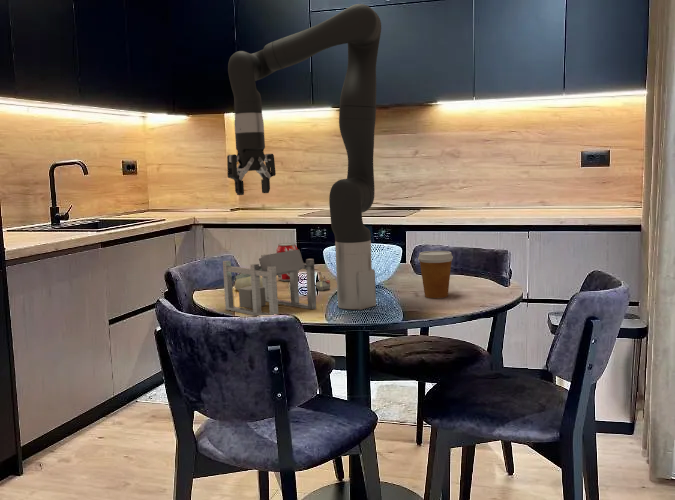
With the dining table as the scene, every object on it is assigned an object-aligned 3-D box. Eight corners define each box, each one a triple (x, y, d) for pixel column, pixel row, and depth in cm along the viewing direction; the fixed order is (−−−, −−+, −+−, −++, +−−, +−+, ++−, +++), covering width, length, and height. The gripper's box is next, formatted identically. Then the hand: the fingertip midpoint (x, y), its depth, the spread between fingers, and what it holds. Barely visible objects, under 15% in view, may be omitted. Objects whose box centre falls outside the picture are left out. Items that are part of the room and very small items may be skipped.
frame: (316, 308, 176) (314, 259, 175) (274, 319, 166) (271, 266, 164) (267, 300, 190) (265, 254, 188) (225, 309, 179) (222, 261, 178)
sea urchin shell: (268, 280, 212) (263, 265, 206) (265, 301, 207) (260, 286, 201) (239, 280, 213) (233, 265, 207) (236, 301, 208) (230, 287, 202)
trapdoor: (304, 267, 174) (299, 249, 175) (273, 273, 167) (268, 254, 168) (269, 282, 185) (264, 265, 186) (238, 288, 178) (233, 270, 178)
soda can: (303, 278, 223) (301, 242, 221) (291, 282, 217) (289, 245, 215) (285, 277, 226) (284, 242, 225) (273, 281, 220) (271, 244, 219)
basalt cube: (264, 287, 182) (253, 285, 186) (250, 290, 179) (238, 288, 182) (265, 305, 183) (254, 303, 187) (251, 309, 180) (239, 306, 183)
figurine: (317, 287, 205) (316, 268, 204) (331, 287, 205) (331, 268, 203) (314, 293, 200) (313, 274, 199) (328, 293, 200) (328, 274, 198)
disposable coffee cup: (440, 301, 179) (439, 256, 178) (411, 297, 186) (410, 253, 184) (460, 295, 186) (460, 251, 184) (432, 291, 192) (431, 249, 191)
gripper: (236, 130, 168) (240, 195, 170) (279, 130, 179) (283, 192, 181) (218, 132, 174) (222, 195, 176) (261, 132, 184) (264, 192, 186)
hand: (253, 194), depth 178 cm, fingers open, 8 cm apart
